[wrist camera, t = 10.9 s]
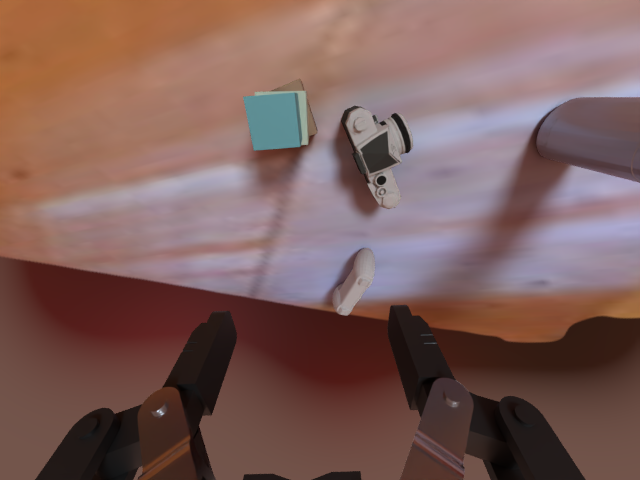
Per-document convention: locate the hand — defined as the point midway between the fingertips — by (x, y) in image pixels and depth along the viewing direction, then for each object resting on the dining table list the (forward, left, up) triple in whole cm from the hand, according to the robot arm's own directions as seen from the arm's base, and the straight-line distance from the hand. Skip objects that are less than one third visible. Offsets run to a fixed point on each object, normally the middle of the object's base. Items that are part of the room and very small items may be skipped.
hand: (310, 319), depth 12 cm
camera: (-11, -1, -35) cm, 37 cm away
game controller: (-6, +23, -35) cm, 43 cm away
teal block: (+4, -8, -25) cm, 26 cm away
